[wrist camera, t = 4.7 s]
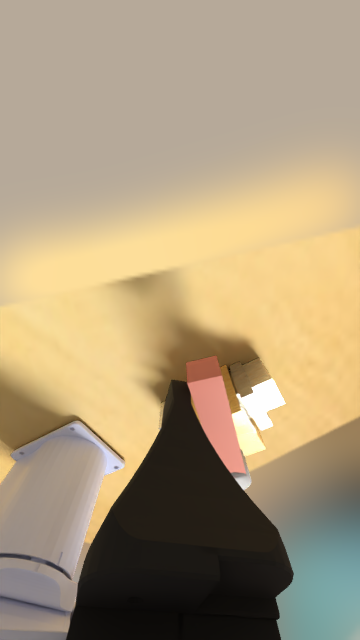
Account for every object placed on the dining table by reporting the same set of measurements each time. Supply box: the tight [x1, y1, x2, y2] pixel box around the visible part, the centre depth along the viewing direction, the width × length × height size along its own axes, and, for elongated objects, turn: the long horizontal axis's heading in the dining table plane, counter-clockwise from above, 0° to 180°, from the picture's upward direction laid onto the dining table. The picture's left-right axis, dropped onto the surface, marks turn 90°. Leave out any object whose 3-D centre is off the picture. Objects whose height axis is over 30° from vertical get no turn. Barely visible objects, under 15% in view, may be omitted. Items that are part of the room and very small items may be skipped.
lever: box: [186, 356, 251, 490], centre depth 12 cm, size 9×2×2 cm, turn 16°
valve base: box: [159, 358, 285, 456], centre depth 17 cm, size 10×4×6 cm, turn 121°
